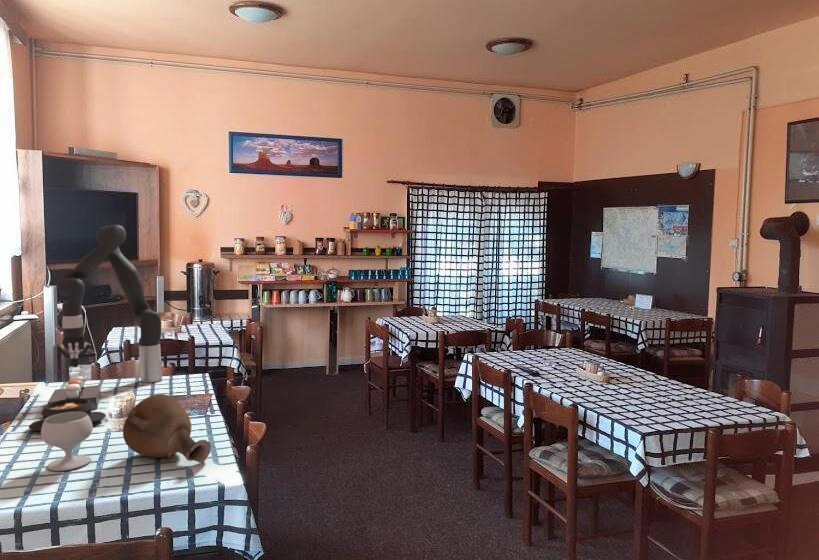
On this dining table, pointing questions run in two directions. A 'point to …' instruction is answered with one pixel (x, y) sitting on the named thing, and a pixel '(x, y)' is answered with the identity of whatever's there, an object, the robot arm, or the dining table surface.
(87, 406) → the casserole
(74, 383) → the middle knob
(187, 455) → the jug
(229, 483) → the dining table surface
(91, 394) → the control box
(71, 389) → the knob
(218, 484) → the dining table surface
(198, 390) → the dining table surface
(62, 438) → the chalice
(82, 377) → the knob
